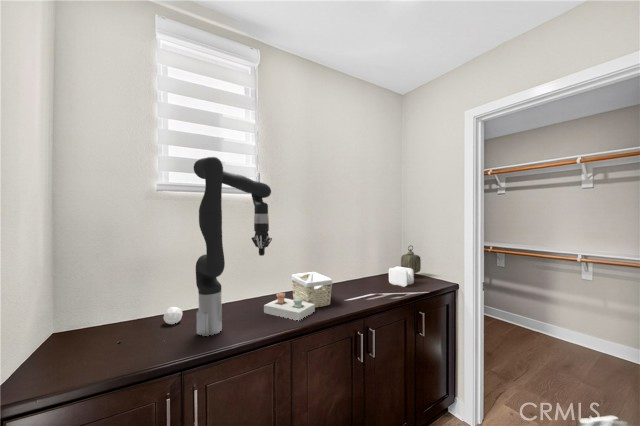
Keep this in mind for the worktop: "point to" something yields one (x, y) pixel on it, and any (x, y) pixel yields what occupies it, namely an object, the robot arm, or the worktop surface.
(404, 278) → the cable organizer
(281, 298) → the terracotta plunger
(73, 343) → the worktop surface
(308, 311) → the panel
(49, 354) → the worktop surface
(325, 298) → the storage basket
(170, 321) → the geometric ball
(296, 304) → the sage plunger
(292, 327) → the worktop surface
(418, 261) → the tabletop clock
